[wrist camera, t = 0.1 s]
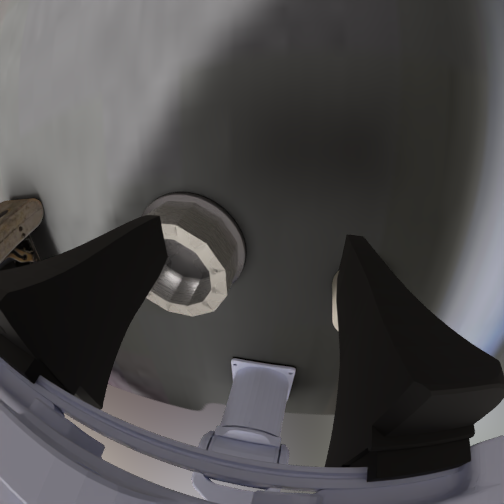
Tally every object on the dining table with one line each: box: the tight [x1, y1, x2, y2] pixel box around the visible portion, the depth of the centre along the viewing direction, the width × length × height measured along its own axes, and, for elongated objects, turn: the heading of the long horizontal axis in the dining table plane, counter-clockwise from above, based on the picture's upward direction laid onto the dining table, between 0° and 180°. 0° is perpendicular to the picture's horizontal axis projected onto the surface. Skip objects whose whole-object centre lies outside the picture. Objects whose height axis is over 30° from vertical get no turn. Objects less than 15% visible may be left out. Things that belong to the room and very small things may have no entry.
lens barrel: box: [141, 192, 246, 316], centre depth 22 cm, size 10×10×4 cm
